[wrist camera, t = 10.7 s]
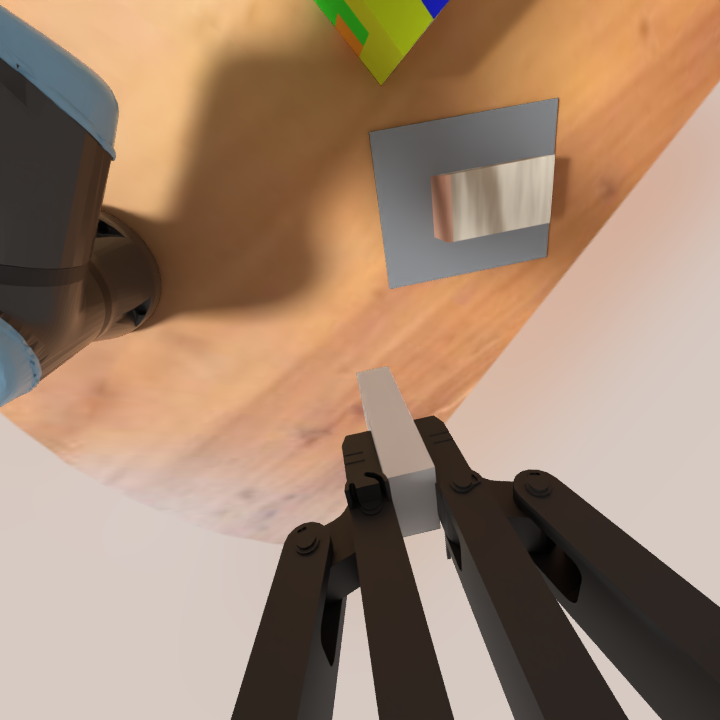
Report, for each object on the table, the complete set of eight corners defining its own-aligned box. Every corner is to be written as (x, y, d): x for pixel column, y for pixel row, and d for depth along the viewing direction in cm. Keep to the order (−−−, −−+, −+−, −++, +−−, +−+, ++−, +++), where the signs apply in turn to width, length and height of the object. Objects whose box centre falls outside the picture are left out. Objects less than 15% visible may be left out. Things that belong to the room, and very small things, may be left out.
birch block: (448, 242, 41) (549, 222, 42) (445, 175, 38) (555, 154, 39) (434, 237, 46) (526, 218, 46) (430, 176, 42) (529, 157, 43)
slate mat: (389, 288, 48) (390, 289, 48) (368, 132, 40) (369, 132, 40) (544, 256, 49) (546, 256, 49) (556, 98, 41) (558, 97, 41)
